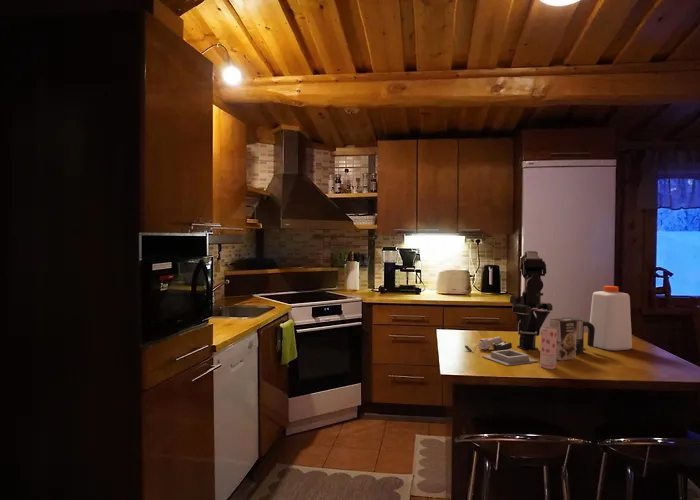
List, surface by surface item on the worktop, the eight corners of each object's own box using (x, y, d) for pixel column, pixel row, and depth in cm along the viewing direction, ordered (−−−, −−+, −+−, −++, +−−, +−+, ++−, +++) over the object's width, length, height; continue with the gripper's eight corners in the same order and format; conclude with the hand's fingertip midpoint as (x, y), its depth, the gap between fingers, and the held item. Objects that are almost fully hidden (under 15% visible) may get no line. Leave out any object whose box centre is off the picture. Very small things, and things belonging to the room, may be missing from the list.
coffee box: (561, 360, 188) (562, 321, 187) (548, 357, 193) (549, 318, 193) (576, 358, 192) (577, 319, 191) (563, 354, 198) (564, 317, 197)
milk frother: (568, 354, 198) (569, 320, 198) (546, 346, 214) (547, 313, 213) (597, 353, 201) (598, 319, 201) (573, 344, 217) (574, 313, 216)
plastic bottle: (608, 342, 223) (610, 284, 222) (636, 349, 209) (638, 287, 208) (583, 344, 218) (585, 284, 218) (610, 351, 204) (612, 288, 203)
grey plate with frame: (511, 353, 198) (512, 347, 198) (537, 361, 185) (537, 355, 185) (482, 357, 192) (482, 351, 191) (506, 366, 179) (507, 359, 179)
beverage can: (546, 369, 175) (547, 330, 174) (536, 365, 180) (537, 327, 180) (559, 368, 176) (560, 329, 176) (549, 364, 182) (550, 326, 181)
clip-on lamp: (475, 362, 195) (513, 351, 198) (473, 348, 194) (512, 337, 197) (463, 352, 206) (499, 342, 209) (461, 339, 205) (498, 329, 208)
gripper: (528, 287, 193) (527, 324, 194) (500, 289, 182) (499, 328, 183) (553, 289, 184) (552, 328, 185) (526, 291, 173) (524, 333, 174)
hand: (532, 329), depth 182 cm, fingers open, 9 cm apart
